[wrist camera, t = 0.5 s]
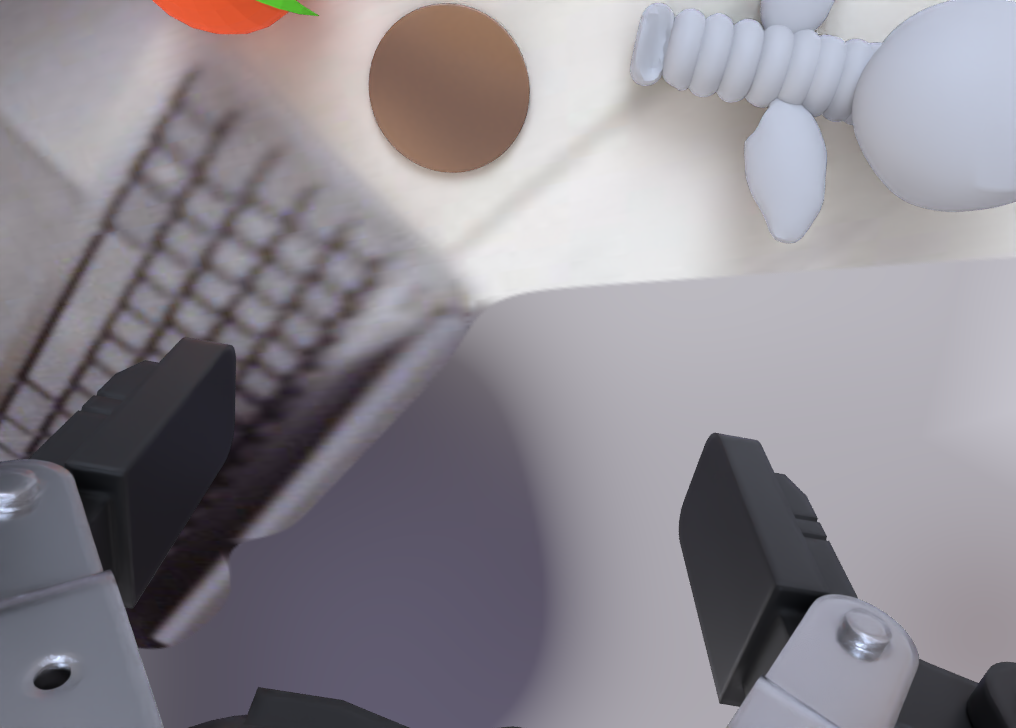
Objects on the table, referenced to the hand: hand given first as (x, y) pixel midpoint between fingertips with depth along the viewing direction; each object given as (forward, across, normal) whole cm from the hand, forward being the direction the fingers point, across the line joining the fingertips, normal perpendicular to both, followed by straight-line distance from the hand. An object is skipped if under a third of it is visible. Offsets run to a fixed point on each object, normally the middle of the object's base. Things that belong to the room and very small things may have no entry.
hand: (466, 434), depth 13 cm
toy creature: (+24, -14, -6) cm, 29 cm away
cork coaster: (+24, +3, -2) cm, 24 cm away
